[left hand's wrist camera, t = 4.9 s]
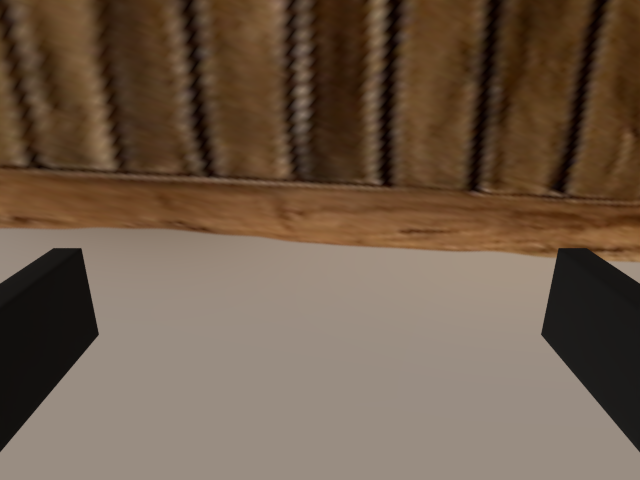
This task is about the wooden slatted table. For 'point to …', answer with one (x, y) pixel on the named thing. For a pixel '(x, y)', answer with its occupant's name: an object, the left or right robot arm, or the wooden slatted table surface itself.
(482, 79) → the wooden slatted table surface
